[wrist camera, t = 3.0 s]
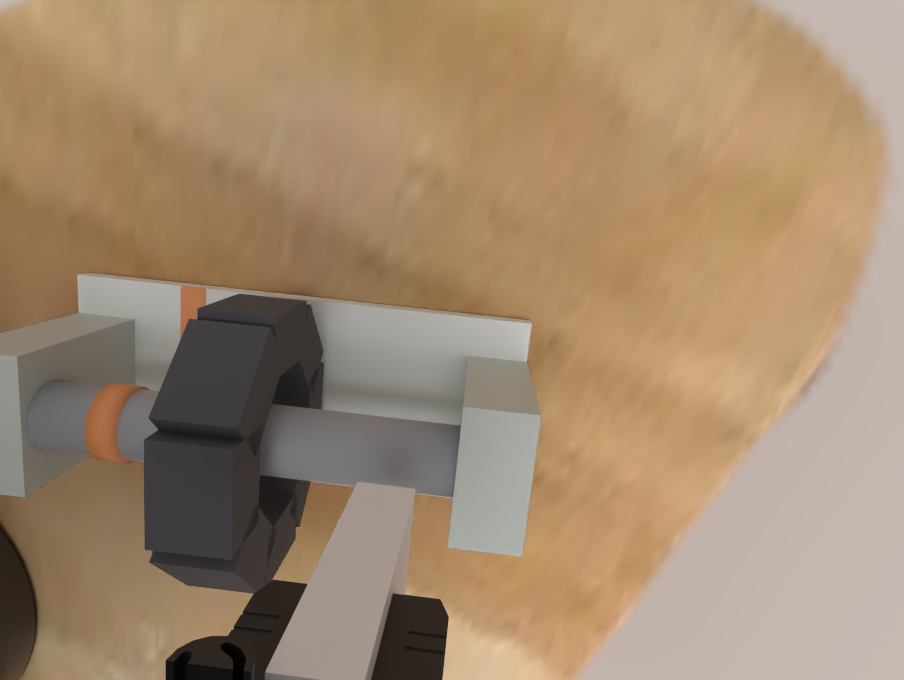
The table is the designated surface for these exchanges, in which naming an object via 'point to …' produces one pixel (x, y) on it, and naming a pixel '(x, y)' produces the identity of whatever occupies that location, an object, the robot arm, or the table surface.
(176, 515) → the o-ring
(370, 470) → the pipe rig
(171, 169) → the table surface
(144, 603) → the table surface
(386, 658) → the robot arm
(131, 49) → the table surface
